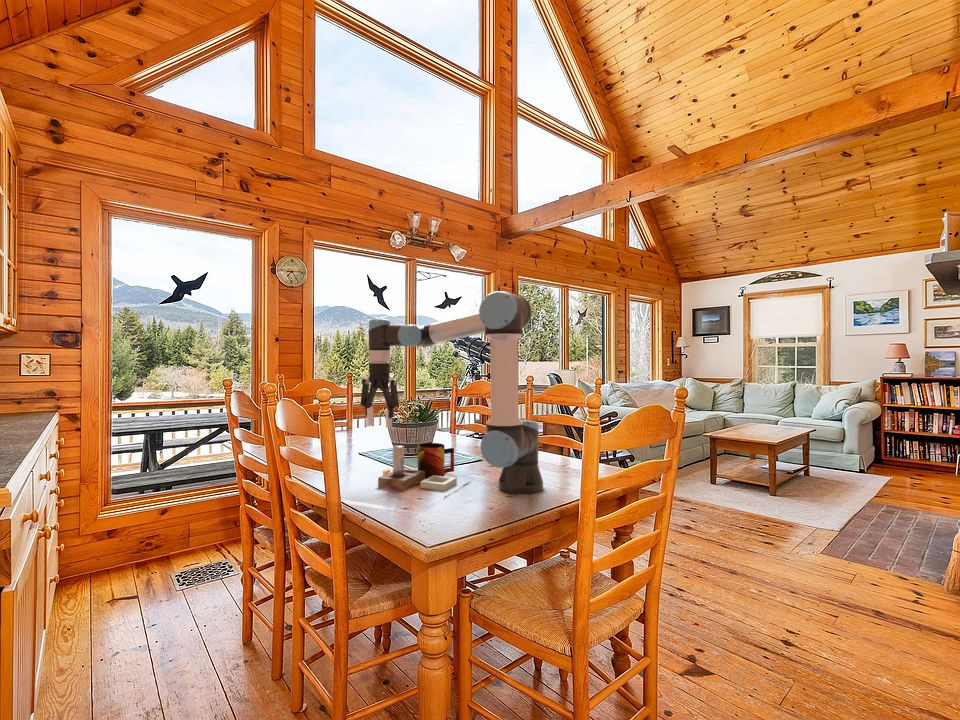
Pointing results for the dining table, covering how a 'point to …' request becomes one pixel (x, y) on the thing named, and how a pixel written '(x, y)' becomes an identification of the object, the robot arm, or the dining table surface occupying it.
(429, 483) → the cream square frame
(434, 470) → the mug
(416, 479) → the socket block
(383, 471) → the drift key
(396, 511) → the dining table surface
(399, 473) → the peg
